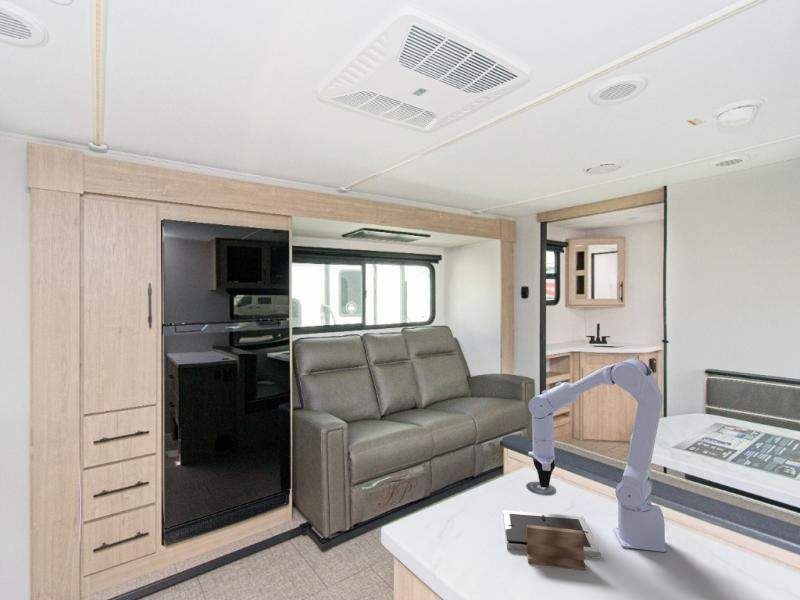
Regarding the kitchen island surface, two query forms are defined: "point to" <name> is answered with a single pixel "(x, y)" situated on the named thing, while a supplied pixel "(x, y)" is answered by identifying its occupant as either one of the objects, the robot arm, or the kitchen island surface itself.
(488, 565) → the kitchen island surface
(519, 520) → the picture frame
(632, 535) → the robot arm
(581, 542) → the walnut bookend
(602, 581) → the kitchen island surface
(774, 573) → the kitchen island surface
